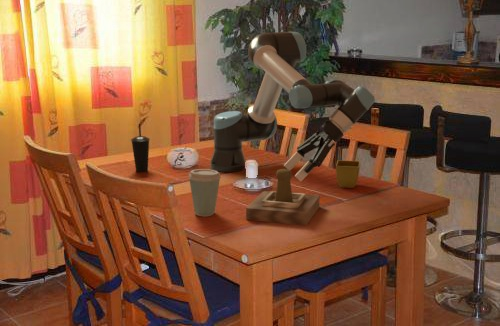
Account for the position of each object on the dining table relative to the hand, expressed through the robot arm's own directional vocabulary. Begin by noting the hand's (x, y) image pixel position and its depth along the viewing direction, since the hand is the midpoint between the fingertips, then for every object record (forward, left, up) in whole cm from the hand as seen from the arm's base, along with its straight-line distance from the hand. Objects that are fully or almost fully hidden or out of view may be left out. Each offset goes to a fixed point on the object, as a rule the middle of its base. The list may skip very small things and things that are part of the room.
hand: (291, 173), depth 223 cm
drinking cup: (-74, +36, -14) cm, 83 cm away
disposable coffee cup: (-28, -9, -14) cm, 32 cm away
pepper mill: (-3, 0, -10) cm, 10 cm away
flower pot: (+12, +37, -14) cm, 42 cm away
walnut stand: (-3, -1, -14) cm, 14 cm away
